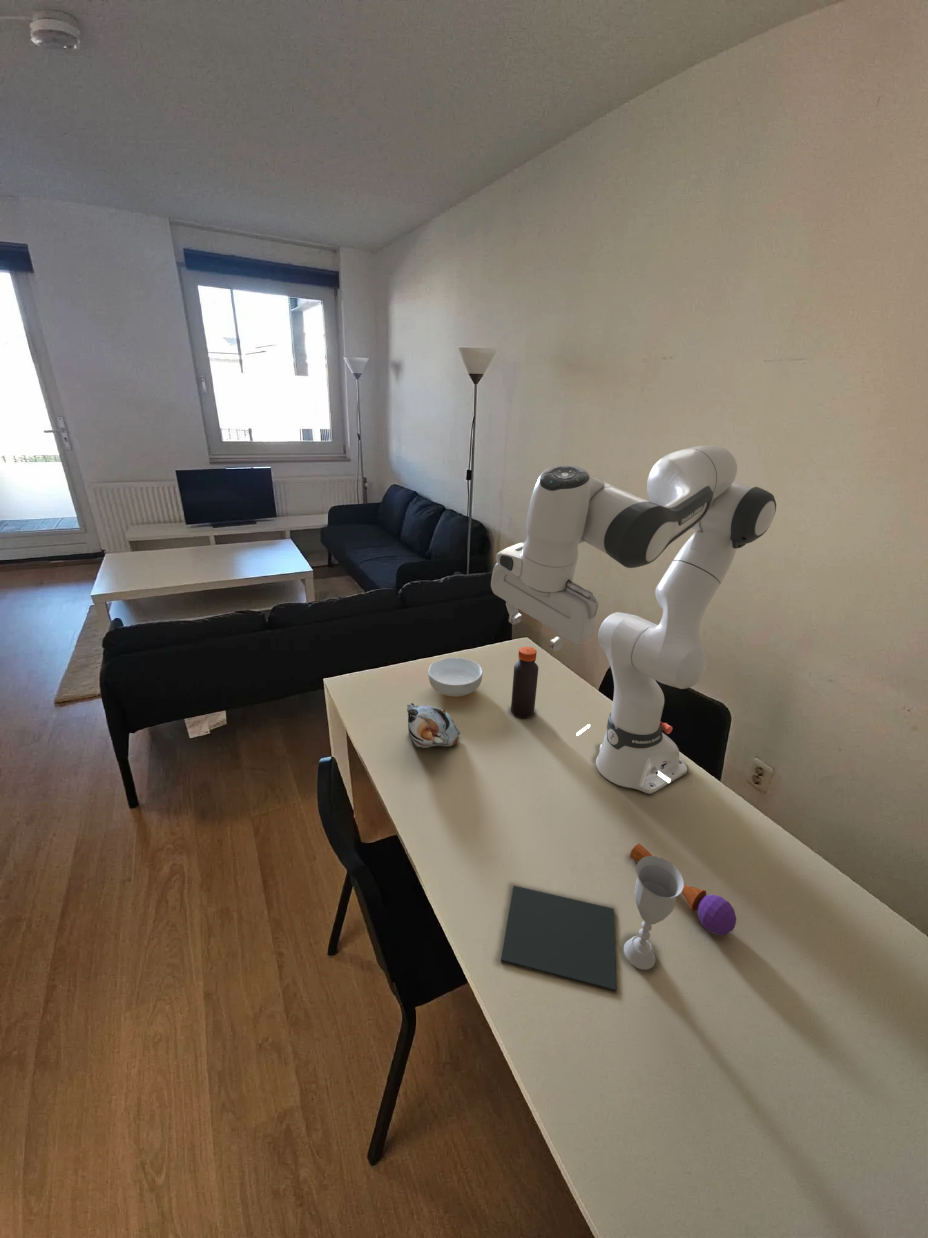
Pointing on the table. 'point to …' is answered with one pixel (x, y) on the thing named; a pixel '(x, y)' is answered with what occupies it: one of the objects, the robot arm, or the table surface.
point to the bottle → (524, 683)
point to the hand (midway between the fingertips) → (534, 635)
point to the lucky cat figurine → (431, 726)
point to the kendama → (702, 903)
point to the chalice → (652, 905)
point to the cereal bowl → (455, 676)
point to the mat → (561, 937)
